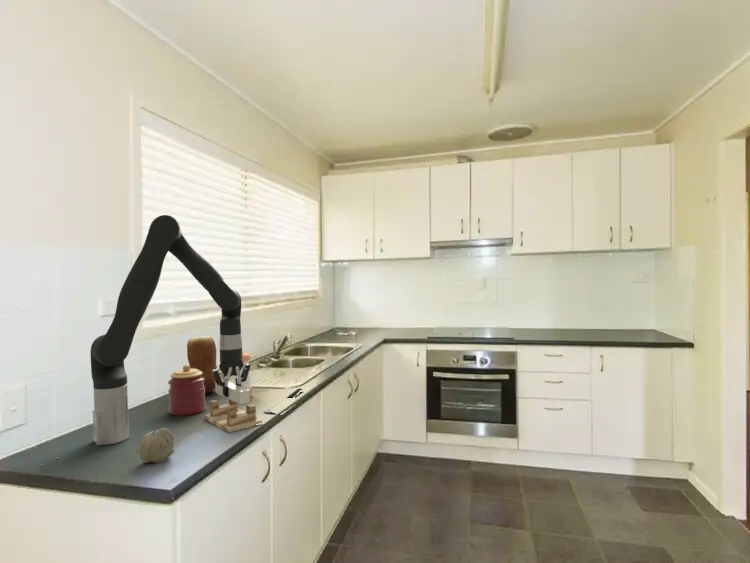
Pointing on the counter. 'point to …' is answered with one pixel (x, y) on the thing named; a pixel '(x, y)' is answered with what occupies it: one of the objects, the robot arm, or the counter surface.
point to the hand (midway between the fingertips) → (232, 395)
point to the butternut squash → (203, 359)
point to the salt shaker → (247, 383)
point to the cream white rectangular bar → (235, 393)
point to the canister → (186, 392)
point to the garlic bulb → (156, 446)
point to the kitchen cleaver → (287, 397)
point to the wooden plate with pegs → (232, 416)
